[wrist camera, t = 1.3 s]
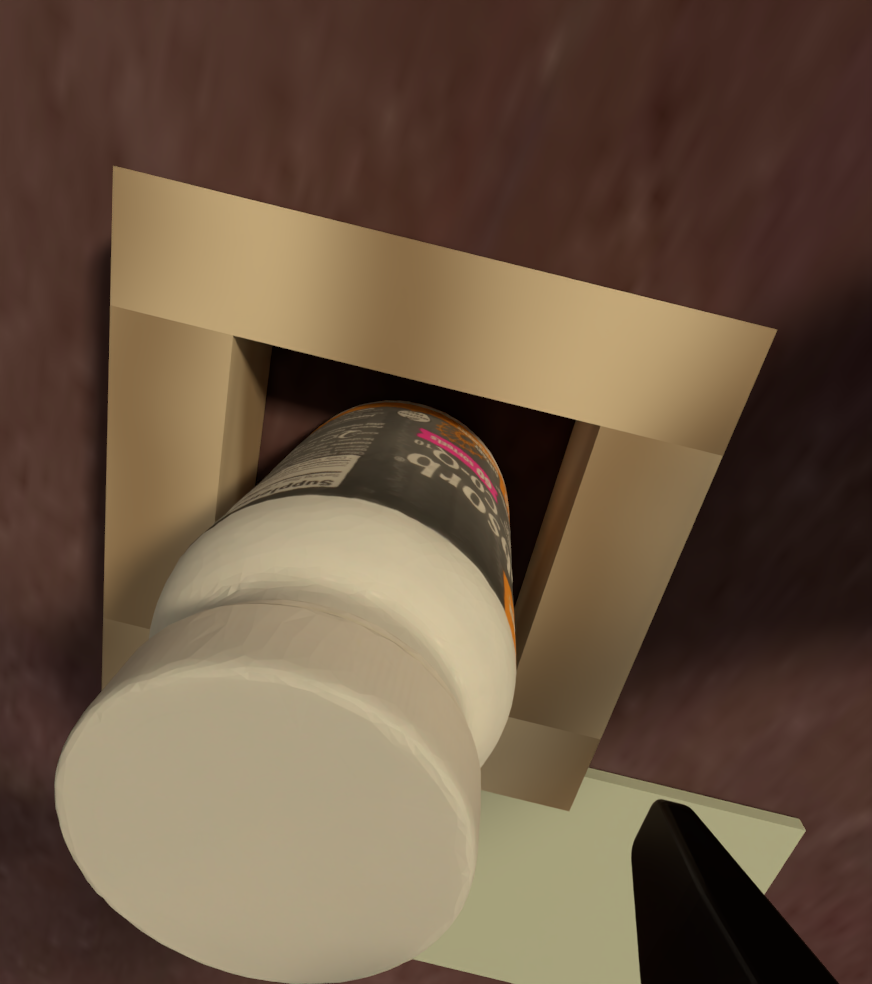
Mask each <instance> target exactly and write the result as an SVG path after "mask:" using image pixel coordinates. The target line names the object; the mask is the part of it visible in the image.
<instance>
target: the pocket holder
mask: <svg viewBox="0 0 872 984" xmlns="http://www.w3.org/2000/svg"><path fill="white" fill-rule="evenodd" d="M776 332H777V330H776V329H772V328H768V327H764V326H760V325H756V324H752V323H748V322H744V321H740V320H736V319H732V318H728V317H724V316H720V315H716V314H712V313H708V312H703V311H699V310H695V309H691V308H687V307H683V306H679V305H675V304H671V303H667V302H663V301H659V300H655V299H651V298H647V297H643V296H639V295H635V294H631V293H627V292H622V291H618V290H614V289H610V288H606V287H602V286H598V285H594V284H590V283H586V282H582V281H578V280H574V279H570V278H566V277H562V276H558V275H554V274H550V273H546V272H542V271H537V270H533V269H529V268H525V267H521V266H517V265H513V264H509V263H505V262H501V261H497V260H493V259H489V258H485V257H481V256H477V255H473V254H469V253H465V252H461V251H456V250H452V249H448V248H444V247H440V246H436V245H432V244H428V243H424V242H420V241H416V240H412V239H408V238H404V237H400V236H396V235H392V234H388V233H384V232H380V231H376V230H371V229H367V228H363V227H359V226H355V225H351V224H347V223H343V222H339V221H335V220H331V219H327V218H323V217H319V216H315V215H311V214H307V213H303V212H299V211H295V210H290V209H286V208H282V207H278V206H274V205H270V204H266V203H262V202H258V201H254V200H250V199H246V198H242V197H238V196H234V195H230V194H226V193H222V192H218V191H214V190H209V189H205V188H201V187H197V186H193V185H189V184H185V183H181V182H177V181H173V180H169V179H165V178H161V177H157V176H153V175H149V174H145V173H141V172H137V171H133V170H129V169H124V168H120V167H116V166H113V200H112V245H111V290H110V336H109V381H108V426H107V472H106V517H105V562H104V607H103V653H102V690H103V689H104V688H105V687H106V685H107V684H108V683H109V682H110V681H111V680H112V678H113V677H114V676H115V675H116V674H117V673H118V671H119V670H120V669H121V668H122V667H123V665H124V664H125V663H126V662H127V661H128V660H129V658H130V657H131V656H132V655H133V654H134V653H135V651H136V650H137V649H138V648H139V647H140V646H141V645H143V644H144V643H145V642H146V641H148V640H149V634H150V627H151V623H152V619H153V615H154V611H155V608H156V605H157V602H158V599H159V597H160V595H161V592H162V590H163V588H164V585H165V583H166V581H167V579H168V578H169V576H170V574H171V573H172V571H173V569H174V567H175V566H176V564H177V562H178V560H179V558H180V557H181V556H182V555H183V554H184V553H185V551H186V550H187V549H188V547H189V546H190V545H191V544H192V543H193V542H194V541H195V540H196V539H197V538H198V537H200V536H201V535H202V534H203V533H204V532H205V531H207V530H208V529H209V528H210V527H211V526H212V525H213V524H214V523H215V522H216V521H217V520H219V519H220V518H221V517H222V516H223V515H225V514H226V513H227V512H228V511H229V510H230V509H231V508H232V507H233V506H234V505H235V504H236V503H237V502H238V501H240V500H241V499H242V498H243V497H244V496H245V495H246V494H247V493H249V492H250V491H251V490H252V489H253V488H254V487H255V483H256V475H257V467H258V459H259V451H260V443H261V435H262V427H263V419H264V410H265V402H266V394H267V386H268V378H269V370H270V362H271V354H272V345H274V346H278V347H282V348H286V349H290V350H294V351H298V352H303V353H307V354H311V355H315V356H319V357H323V358H327V359H331V360H335V361H339V362H343V363H347V364H351V365H355V366H359V367H363V368H368V369H372V370H376V371H380V372H384V373H388V374H392V375H396V376H400V377H404V378H408V379H412V380H416V381H420V382H424V383H428V384H433V385H437V386H441V387H445V388H449V389H453V390H457V391H461V392H465V393H469V394H473V395H477V396H481V397H485V398H489V399H493V400H498V401H502V402H506V403H510V404H514V405H518V406H522V407H526V408H530V409H534V410H538V411H542V412H546V413H550V414H554V415H558V416H563V417H567V418H571V419H575V420H576V421H575V424H574V427H573V430H572V433H571V436H570V439H569V442H568V445H567V449H566V452H565V455H564V458H563V461H562V464H561V467H560V470H559V473H558V476H557V479H556V482H555V485H554V488H553V491H552V494H551V498H550V501H549V504H548V507H547V510H546V513H545V516H544V519H543V522H542V525H541V528H540V531H539V534H538V537H537V540H536V544H535V547H534V550H533V553H532V556H531V559H530V562H529V565H528V568H527V571H526V574H525V577H524V580H523V583H522V586H521V590H520V593H519V596H518V599H517V602H516V605H515V608H514V623H515V639H516V682H515V690H514V696H513V702H512V707H511V710H510V713H509V716H508V720H507V722H506V725H505V727H504V730H503V732H502V734H501V736H500V738H499V741H498V742H497V744H496V746H495V748H494V749H493V751H492V753H491V754H490V756H489V757H488V758H487V760H486V761H485V763H484V764H483V765H482V767H481V768H480V770H481V790H483V791H487V792H491V793H495V794H499V795H504V796H508V797H512V798H516V799H520V800H524V801H528V802H532V803H536V804H540V805H545V806H549V807H553V808H557V809H561V810H565V811H570V809H571V806H572V804H573V802H574V799H575V797H576V795H577V793H578V790H579V788H580V786H581V783H582V781H583V779H584V776H585V774H586V772H587V769H588V767H589V765H590V762H591V760H592V758H593V755H594V753H595V751H596V749H597V746H598V744H599V742H600V739H601V737H602V735H603V732H604V730H605V728H606V725H607V723H608V721H609V718H610V716H611V714H612V711H613V709H614V707H615V705H616V702H617V700H618V698H619V695H620V693H621V691H622V688H623V686H624V684H625V681H626V679H627V677H628V674H629V672H630V670H631V667H632V665H633V663H634V661H635V658H636V656H637V654H638V651H639V649H640V647H641V644H642V642H643V640H644V637H645V635H646V633H647V630H648V628H649V626H650V623H651V621H652V619H653V617H654V614H655V612H656V610H657V607H658V605H659V603H660V600H661V598H662V596H663V593H664V591H665V589H666V586H667V584H668V582H669V580H670V577H671V575H672V573H673V570H674V568H675V566H676V563H677V561H678V559H679V556H680V554H681V552H682V549H683V547H684V545H685V542H686V540H687V538H688V536H689V533H690V531H691V529H692V526H693V524H694V522H695V519H696V517H697V515H698V512H699V510H700V508H701V505H702V503H703V501H704V498H705V496H706V494H707V492H708V489H709V487H710V485H711V482H712V480H713V478H714V475H715V473H716V471H717V468H718V466H719V464H720V461H721V459H722V457H723V454H724V452H725V450H726V448H727V445H728V443H729V441H730V438H731V436H732V434H733V431H734V429H735V427H736V424H737V422H738V420H739V417H740V415H741V413H742V410H743V408H744V406H745V404H746V401H747V399H748V397H749V394H750V392H751V390H752V387H753V385H754V383H755V380H756V378H757V376H758V373H759V371H760V369H761V366H762V364H763V362H764V360H765V357H766V355H767V353H768V350H769V348H770V346H771V343H772V341H773V339H774V336H775V334H776Z"/></svg>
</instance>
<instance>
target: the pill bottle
mask: <svg viewBox="0 0 872 984" xmlns="http://www.w3.org/2000/svg"><path fill="white" fill-rule="evenodd" d="M512 581H513V577H512V560H511V538H510V518H509V503H508V496H507V491H506V486H505V482H504V479H503V477H502V474H501V472H500V470H499V467H498V465H497V463H496V461H495V459H494V458H493V456H492V454H491V453H490V451H489V450H488V448H487V447H486V446H485V445H484V443H483V442H482V441H481V440H480V439H479V437H478V436H477V435H475V434H474V433H473V432H472V431H471V430H470V429H469V428H468V427H467V426H465V425H464V424H463V423H461V422H460V421H458V420H457V419H455V418H453V417H451V416H450V415H448V414H446V413H444V412H442V411H440V410H437V409H435V408H432V407H429V406H426V405H423V404H418V403H413V402H409V401H391V400H385V401H378V402H371V403H366V404H362V405H358V406H355V407H353V408H350V409H348V410H345V411H343V412H341V413H339V414H337V415H335V416H334V417H332V418H331V419H330V420H328V421H327V422H325V423H324V424H323V425H321V426H320V427H318V428H317V429H316V430H315V431H314V432H312V433H311V434H310V435H309V436H308V437H307V438H306V439H305V440H304V441H302V442H301V443H300V444H299V445H298V446H297V447H296V448H295V449H294V450H293V451H292V452H291V453H290V454H289V455H287V456H286V457H285V458H284V459H283V460H282V461H281V462H280V463H279V464H278V465H277V466H276V467H275V468H274V469H273V470H272V471H271V472H270V473H269V474H268V475H267V476H266V477H265V478H264V479H263V480H262V481H261V482H260V483H259V484H258V485H257V486H256V487H254V488H253V489H252V490H251V491H250V492H249V493H247V494H246V495H245V496H244V497H243V498H242V499H241V500H240V501H238V502H237V503H236V504H235V505H234V506H233V507H232V508H231V509H230V510H229V511H228V512H227V513H226V514H225V515H223V516H222V517H221V518H220V519H219V520H217V521H216V522H215V523H214V524H213V525H212V526H211V527H210V528H209V529H208V530H207V531H205V532H204V533H203V534H202V535H201V536H200V537H198V538H197V539H196V540H195V541H194V542H193V543H192V544H191V545H190V546H189V547H188V549H187V550H186V551H185V553H184V554H183V555H182V556H181V557H180V558H179V560H178V562H177V564H176V566H175V567H174V569H173V571H172V573H171V574H170V576H169V578H168V579H167V581H166V583H165V585H164V588H163V590H162V592H161V595H160V597H159V599H158V602H157V605H156V608H155V611H154V615H153V619H152V623H151V627H150V634H149V640H148V641H146V642H145V643H144V644H143V645H141V646H140V647H139V648H138V649H137V650H136V651H135V653H134V654H133V655H132V656H131V657H130V658H129V660H128V661H127V662H126V663H125V664H124V665H123V667H122V668H121V669H120V670H119V671H118V673H117V674H116V675H115V676H114V677H113V678H112V680H111V681H110V682H109V683H108V684H107V685H106V687H105V688H104V689H103V690H102V691H101V692H100V694H99V695H98V696H97V697H96V698H95V699H94V701H93V702H92V703H91V704H90V705H89V706H88V708H87V709H86V710H85V711H84V713H83V714H82V716H81V717H80V719H79V720H78V722H77V723H76V725H75V726H74V728H73V729H72V731H71V732H70V734H69V736H68V738H67V740H66V742H65V744H64V746H63V749H62V752H61V755H60V757H59V761H58V765H57V769H56V773H55V783H54V787H55V808H56V811H57V815H58V818H59V824H60V829H61V832H62V834H63V837H64V840H65V843H66V845H67V847H68V849H69V851H70V853H71V855H72V857H73V859H74V860H75V862H76V864H77V865H78V867H79V868H80V870H81V872H82V873H83V875H84V877H85V878H86V880H87V881H88V882H89V884H90V885H91V886H92V888H93V889H94V890H95V891H96V893H97V894H99V895H100V896H101V897H103V898H104V899H105V901H106V902H107V903H108V904H109V905H110V906H111V907H112V908H113V909H114V910H115V911H116V912H118V913H119V914H120V915H121V916H123V917H124V918H125V919H127V920H128V921H129V922H130V923H132V924H133V925H134V926H135V927H137V928H138V929H139V930H140V931H142V932H144V933H145V934H147V935H148V936H150V937H151V938H153V939H155V940H156V941H157V942H159V943H160V944H162V945H165V946H167V947H169V948H171V949H173V950H175V951H177V952H179V953H181V954H183V955H185V956H187V957H189V958H191V959H193V960H195V961H198V962H200V963H202V964H204V965H207V966H210V967H213V968H216V969H219V970H223V971H226V972H229V973H232V974H236V975H240V976H243V977H248V978H254V979H260V980H267V981H273V982H282V983H291V984H304V983H306V984H315V983H339V982H346V981H351V980H356V979H361V978H365V977H369V976H372V975H375V974H378V973H381V972H384V971H387V970H390V969H392V968H394V967H397V966H399V965H401V964H402V963H404V962H407V961H409V960H411V959H413V958H414V957H416V956H418V955H419V954H421V953H422V952H424V951H425V950H426V949H428V948H429V947H430V946H431V945H432V944H433V943H434V942H436V941H437V940H438V939H439V938H440V937H441V936H442V935H443V934H444V933H445V932H446V931H447V930H448V929H449V927H450V926H451V925H452V924H453V922H454V921H455V919H456V918H457V916H458V915H459V913H460V912H461V910H462V908H463V907H464V904H465V902H466V899H467V897H468V894H469V891H470V888H471V885H472V882H473V879H474V874H475V869H476V862H477V855H478V843H479V828H480V814H481V770H480V768H481V767H482V765H483V764H484V763H485V761H486V760H487V758H488V757H489V756H490V754H491V753H492V751H493V749H494V748H495V746H496V744H497V742H498V741H499V738H500V736H501V734H502V732H503V730H504V727H505V725H506V722H507V720H508V716H509V713H510V710H511V707H512V702H513V696H514V690H515V682H516V639H515V623H514V602H513V588H512Z"/></svg>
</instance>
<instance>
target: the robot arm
mask: <svg viewBox="0 0 872 984" xmlns="http://www.w3.org/2000/svg"><path fill="white" fill-rule="evenodd" d="M631 866H632V879H633V892H634V905H635V918H636V931H637V944H638V958H639V971H640V981H641V984H839V983H838V982H837V981H836V979H835V978H834V977H833V976H832V975H831V973H830V972H829V971H828V970H827V969H826V967H825V966H824V965H823V964H822V963H821V962H820V960H819V959H818V958H817V957H816V956H815V954H814V953H813V952H812V951H811V950H810V948H809V947H808V946H807V945H806V944H805V943H804V941H803V940H802V939H801V938H800V937H799V935H798V934H797V933H796V932H795V931H794V929H793V928H792V927H791V926H790V925H789V924H788V922H787V921H786V920H785V919H784V918H783V916H782V915H781V914H780V913H779V912H778V910H777V909H776V908H775V907H774V906H773V905H772V903H771V902H770V901H769V900H768V899H767V897H766V896H765V895H764V894H763V893H762V891H761V890H760V889H759V888H758V887H757V886H756V884H755V883H754V882H753V881H752V880H751V878H750V877H749V876H748V875H747V874H746V872H745V871H744V870H743V869H742V868H741V867H740V865H739V864H738V863H737V862H736V861H735V859H734V858H733V857H732V856H731V855H730V853H729V852H728V851H727V850H726V849H725V848H724V846H723V845H722V844H721V843H720V842H719V840H718V839H717V838H716V837H715V836H714V834H713V833H712V832H711V831H710V830H709V829H708V827H707V826H706V825H705V824H704V823H703V821H702V820H701V819H700V818H699V817H698V815H697V814H696V813H695V812H694V811H693V810H692V809H691V808H690V807H688V806H686V805H684V804H680V803H676V802H672V801H668V800H664V799H658V800H656V801H655V802H653V804H652V805H651V807H650V809H649V811H648V813H647V815H646V817H645V819H644V821H643V823H642V825H641V827H640V829H639V831H638V833H637V835H636V837H635V839H634V842H633V845H632V851H631Z"/></svg>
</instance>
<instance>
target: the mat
mask: <svg viewBox="0 0 872 984" xmlns="http://www.w3.org/2000/svg"><path fill="white" fill-rule="evenodd" d="M658 799H664V800H668V801H672V802H676V803H680V804H684V805H686V806H688V807H690V808H691V809H692V810H693V811H694V812H695V813H696V814H697V815H698V817H699V818H700V819H701V820H702V821H703V823H704V824H705V825H706V826H707V827H708V829H709V830H710V831H711V832H712V833H713V834H714V836H715V837H716V838H717V839H718V840H719V842H720V843H721V844H722V845H723V846H724V848H725V849H726V850H727V851H728V852H729V853H730V855H731V856H732V857H733V858H734V859H735V861H736V862H737V863H738V864H739V865H740V867H741V868H742V869H743V870H744V871H745V872H746V874H747V875H748V876H749V877H750V878H751V880H752V881H753V882H754V883H755V884H756V886H757V887H758V888H759V889H760V890H761V891H762V893H763V894H765V893H766V891H767V889H768V888H769V886H770V885H771V883H772V882H773V880H774V879H775V877H776V876H777V874H778V873H779V871H780V869H781V868H782V866H783V865H784V863H785V862H786V860H787V859H788V857H789V856H790V854H791V852H792V851H793V849H794V848H795V846H796V845H797V843H798V842H799V840H800V839H801V837H802V836H803V834H804V832H805V831H806V830H805V829H804V827H803V825H802V823H801V821H800V819H797V818H793V817H789V816H785V815H781V814H777V813H773V812H769V811H764V810H760V809H756V808H752V807H748V806H744V805H740V804H736V803H732V802H728V801H723V800H719V799H715V798H711V797H707V796H703V795H699V794H695V793H691V792H687V791H682V790H678V789H674V788H670V787H666V786H662V785H658V784H654V783H650V782H646V781H642V780H637V779H633V778H629V777H625V776H621V775H617V774H613V773H609V772H605V771H601V770H596V769H592V768H588V769H587V772H586V774H585V776H584V779H583V781H582V783H581V786H580V788H579V790H578V793H577V795H576V797H575V799H574V802H573V804H572V806H571V809H570V811H565V810H561V809H557V808H553V807H549V806H545V805H540V804H536V803H532V802H528V801H524V800H520V799H516V798H512V797H508V796H504V795H499V794H495V793H491V792H487V791H483V790H481V814H480V828H479V843H478V855H477V862H476V869H475V874H474V879H473V882H472V885H471V888H470V891H469V894H468V897H467V899H466V902H465V904H464V907H463V908H462V910H461V912H460V913H459V915H458V916H457V918H456V919H455V921H454V922H453V924H452V925H451V926H450V927H449V929H448V930H447V931H446V932H445V933H444V934H443V935H442V936H441V937H440V938H439V939H438V940H437V941H436V942H434V943H433V944H432V945H431V946H430V947H429V948H428V949H426V950H425V951H424V952H422V953H421V954H419V955H418V956H416V957H414V958H413V959H415V960H419V961H423V962H427V963H431V964H436V965H440V966H444V967H448V968H452V969H456V970H460V971H464V972H469V973H473V974H477V975H481V976H485V977H489V978H493V979H497V980H501V981H506V982H510V983H514V984H641V981H640V971H639V958H638V944H637V931H636V918H635V905H634V892H633V879H632V866H631V851H632V845H633V842H634V839H635V837H636V835H637V833H638V831H639V829H640V827H641V825H642V823H643V821H644V819H645V817H646V815H647V813H648V811H649V809H650V807H651V805H652V804H653V802H655V801H656V800H658Z"/></svg>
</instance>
